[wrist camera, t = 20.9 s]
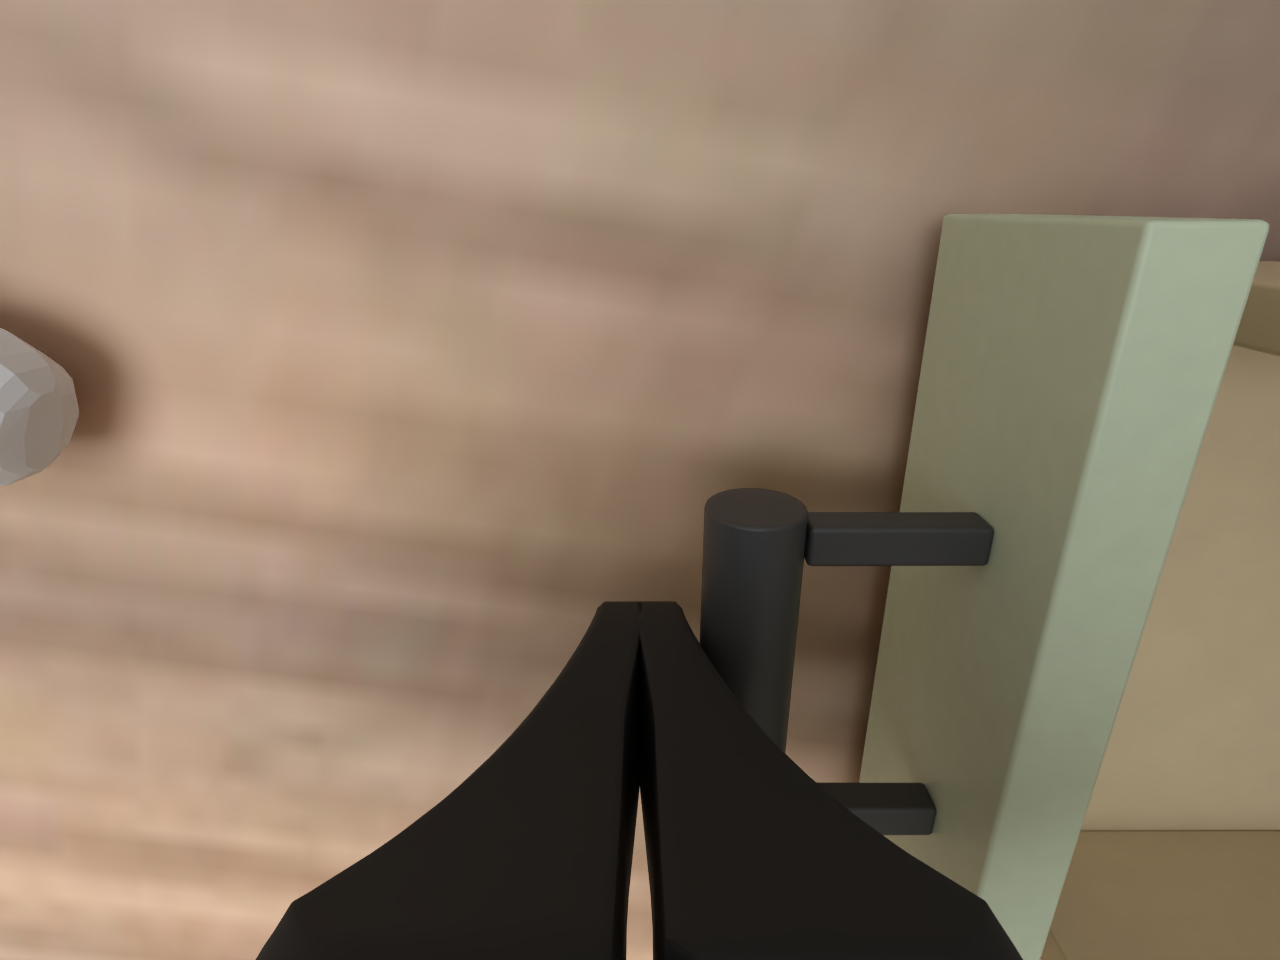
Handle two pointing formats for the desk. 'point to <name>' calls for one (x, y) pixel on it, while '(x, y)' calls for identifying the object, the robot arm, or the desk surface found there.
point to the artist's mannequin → (32, 409)
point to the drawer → (1064, 589)
